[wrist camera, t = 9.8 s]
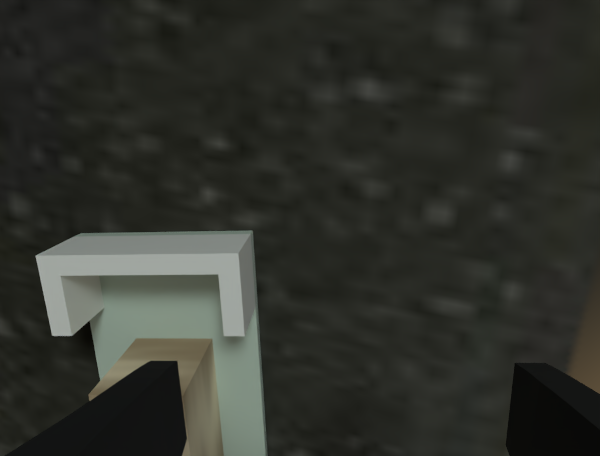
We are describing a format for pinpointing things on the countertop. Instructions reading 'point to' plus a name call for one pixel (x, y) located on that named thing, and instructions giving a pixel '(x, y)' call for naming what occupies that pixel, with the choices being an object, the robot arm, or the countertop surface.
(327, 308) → the countertop surface
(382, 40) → the countertop surface
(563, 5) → the countertop surface
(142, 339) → the tan rectangular block
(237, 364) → the endcap rail
